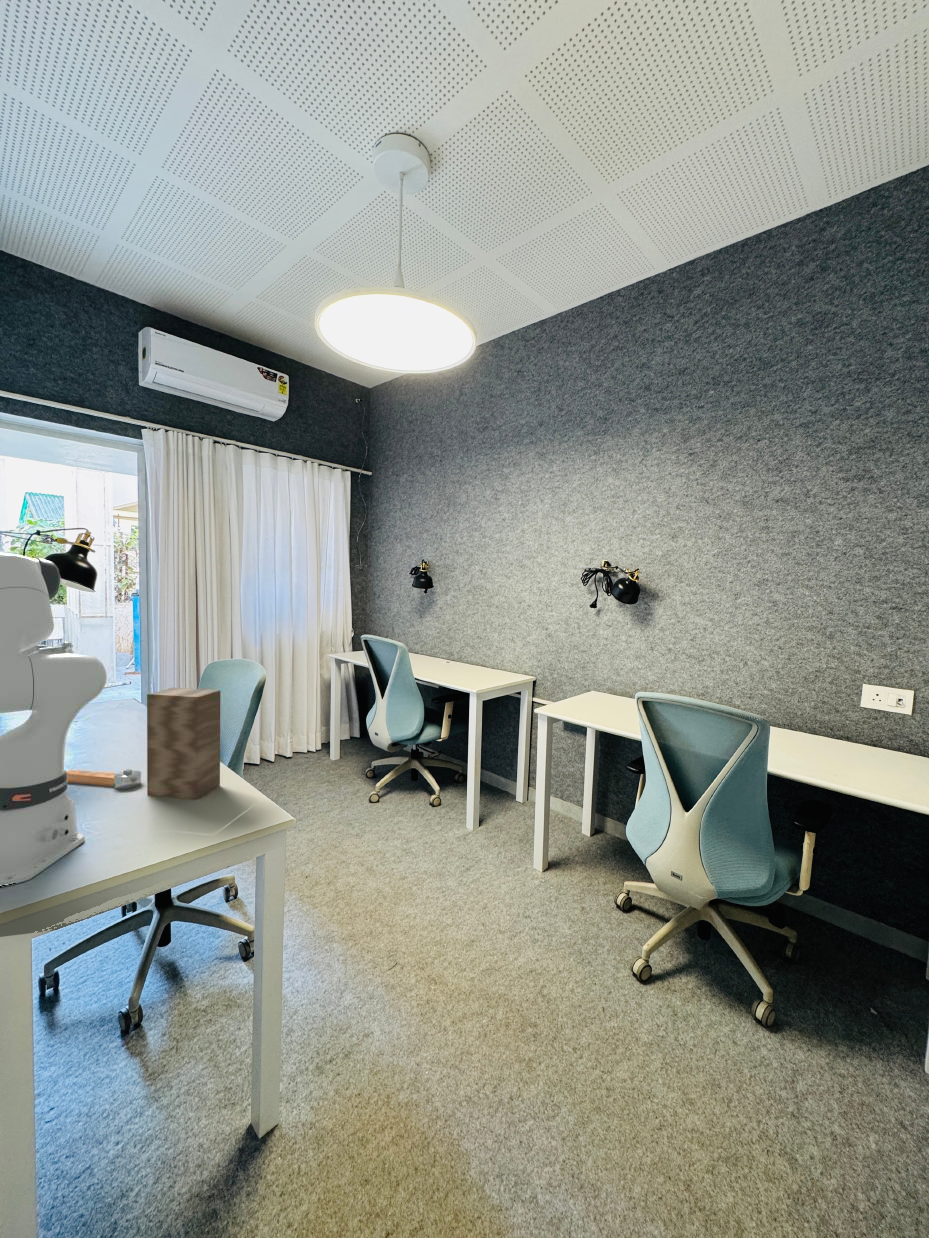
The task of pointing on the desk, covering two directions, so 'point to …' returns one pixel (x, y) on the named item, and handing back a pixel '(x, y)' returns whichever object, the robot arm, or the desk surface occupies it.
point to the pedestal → (183, 742)
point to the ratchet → (106, 778)
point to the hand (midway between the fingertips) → (53, 645)
